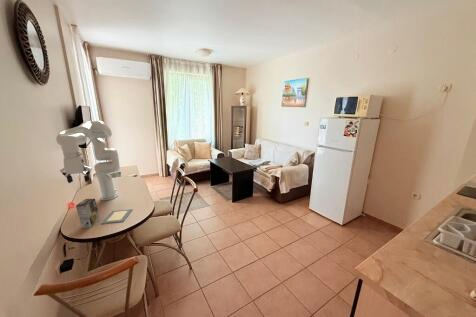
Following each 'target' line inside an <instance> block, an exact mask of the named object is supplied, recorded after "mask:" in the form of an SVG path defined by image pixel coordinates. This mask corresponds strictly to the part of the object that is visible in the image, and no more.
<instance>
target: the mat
mask: <svg viewBox="0 0 476 317" xmlns="http://www.w3.org/2000/svg"><path fill="white" fill-rule="evenodd" d="M133 210H134V209H133V208H130V209H119V210H112V211H111V212H110V213H109V214H108V215H107V216H106V218H105V219H104V220H103V221H101V223H100V225H105V223H107V224H117V223H124V222H125V220H126V219H127V218H128V217H129V215H130V214H131V213H132V211H133Z"/></svg>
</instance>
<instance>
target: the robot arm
mask: <svg viewBox="0 0 476 317" xmlns="http://www.w3.org/2000/svg"><path fill="white" fill-rule="evenodd" d="M112 134H113V133H112V130H111V128H110V127H109V126H108V125H107V124H106V123H105V122H104V121H102V120H87V121H84V122H82V123H81V124H80V125H78V126H75V127H72V128H68V129H66V130H63V131H61V132H59V133H58V134H57V135H56V139H55V140H56V143H57V144H58V145H59V146H60V147H61V151H62V154H63V168H62V169H60V170H59V172H60V173H61V174H62V175H63V176H64V177H65V178H66V181H67V182H68V184H71V183H73V182H74V181H73V176H72V175H77V174H82V175H84V176H83V178H84V182H85V183H87V182H89V181H90V180H91V178H90V173H91V172H92V167H90V166H87V164H86V161H85V158H84V157H83V156H82V155H83V153H82V152H80V148H79V145H80V146H81V145H85V144H86V143H87V141H88V140H87V139H89V140H90V141H91V143H92V144H93V145H92V146H93V151H94V152H93V153H94V157H95V160H96V161H99V162H98V163H95V164H94V168H93V169H94V171H95V174H96V176H97V180H98V184H99V187H100V193H101V196H100V200H101V201H110V200H114V199H115V198H117V197H118V195H119V194H118V193H117V192H116V191H117V189H116V188H115V185H114V180H113V177H112V175H111V174H112V173H117V172H119V171H120V169H121V168H120V167H121V166H120V160H119V159H120V158H119V153H118V150H117V149H116V148H107V143H106V141H105V140H104V139H108V138H110V137H112ZM100 161H101V162H100ZM110 173H111V174H110Z"/></svg>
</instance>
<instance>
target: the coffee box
mask: <svg viewBox="0 0 476 317" xmlns="http://www.w3.org/2000/svg"><path fill="white" fill-rule="evenodd" d="M75 207H76V211H77V214H78V219H79V223H80V225H81V229H82V228H84V229H85V228H93V226H95V225H96V224H97V223H98V222H99V221H100V220H101V217H100V213H99V209H98V205H97V201H96V198H84V200H82V201H81V202H79V203H78V204H76V205H75Z"/></svg>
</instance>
